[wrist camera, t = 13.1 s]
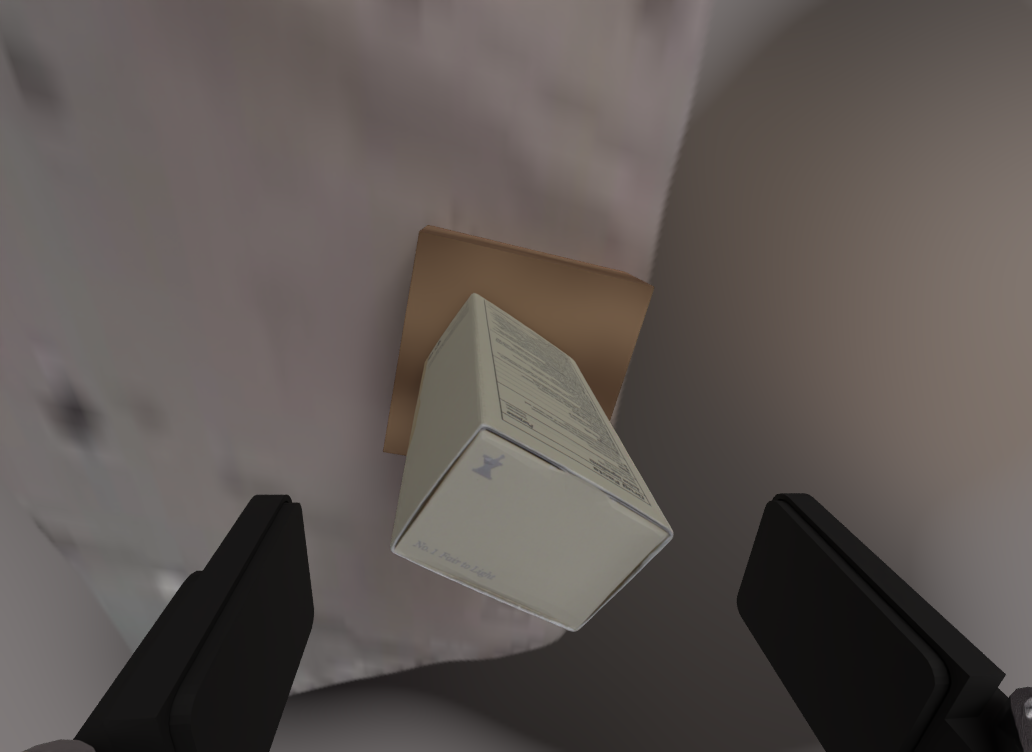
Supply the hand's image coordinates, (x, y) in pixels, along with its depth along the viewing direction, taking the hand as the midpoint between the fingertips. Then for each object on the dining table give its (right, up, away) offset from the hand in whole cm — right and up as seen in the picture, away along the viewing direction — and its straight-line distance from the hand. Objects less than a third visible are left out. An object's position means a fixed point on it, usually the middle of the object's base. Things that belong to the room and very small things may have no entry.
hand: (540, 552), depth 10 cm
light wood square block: (-1, +5, +18) cm, 19 cm away
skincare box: (-1, +4, +13) cm, 14 cm away
